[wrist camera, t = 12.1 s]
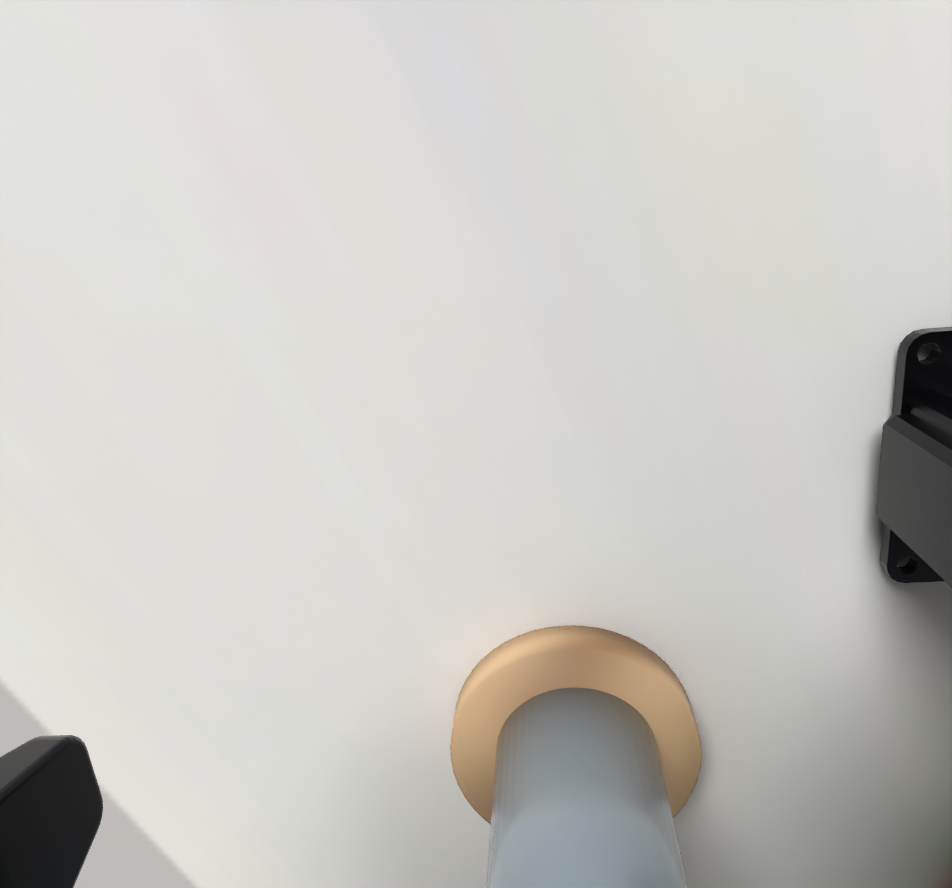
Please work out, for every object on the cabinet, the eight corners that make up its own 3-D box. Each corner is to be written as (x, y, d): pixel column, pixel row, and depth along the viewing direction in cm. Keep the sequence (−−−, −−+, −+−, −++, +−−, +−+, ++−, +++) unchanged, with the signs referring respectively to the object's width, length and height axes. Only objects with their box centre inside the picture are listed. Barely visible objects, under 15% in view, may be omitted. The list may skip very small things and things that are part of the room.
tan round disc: (692, 620, 21) (701, 645, 19) (692, 819, 23) (701, 852, 22) (442, 630, 21) (437, 655, 20) (466, 822, 23) (463, 853, 22)
